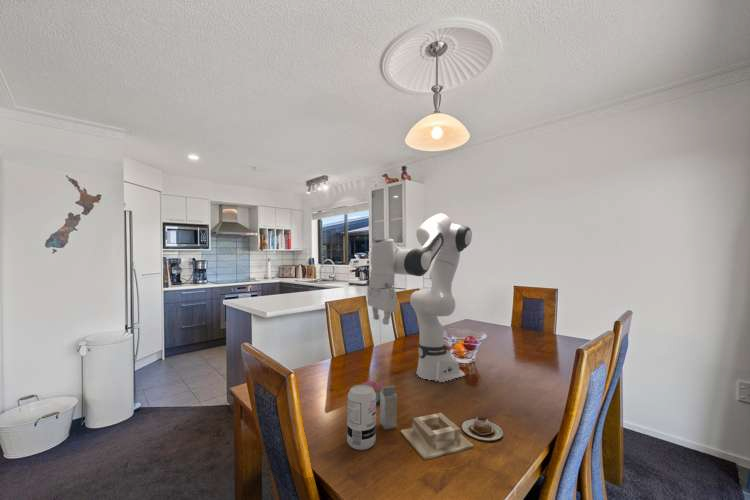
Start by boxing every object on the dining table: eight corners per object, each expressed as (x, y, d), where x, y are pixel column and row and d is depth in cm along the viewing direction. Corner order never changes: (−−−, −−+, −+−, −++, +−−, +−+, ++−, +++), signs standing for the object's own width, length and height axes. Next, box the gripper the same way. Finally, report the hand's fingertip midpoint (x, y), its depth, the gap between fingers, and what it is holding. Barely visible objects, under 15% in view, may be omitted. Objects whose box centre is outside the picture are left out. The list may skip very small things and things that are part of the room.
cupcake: (385, 397, 116) (386, 366, 117) (379, 407, 108) (379, 373, 109) (365, 394, 119) (365, 363, 120) (356, 403, 111) (357, 370, 112)
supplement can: (347, 435, 91) (347, 384, 92) (374, 434, 92) (374, 383, 92) (346, 451, 83) (347, 395, 83) (376, 450, 83) (377, 395, 84)
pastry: (511, 440, 90) (511, 424, 90) (476, 447, 86) (476, 430, 86) (486, 420, 101) (486, 406, 101) (454, 425, 98) (454, 410, 98)
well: (445, 422, 98) (445, 408, 99) (473, 447, 85) (473, 430, 85) (400, 432, 93) (400, 416, 93) (423, 460, 80) (423, 442, 80)
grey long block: (391, 421, 99) (391, 383, 100) (396, 427, 95) (396, 388, 96) (380, 423, 98) (380, 385, 98) (384, 429, 94) (385, 390, 95)
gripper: (402, 284, 100) (401, 327, 100) (380, 281, 120) (378, 317, 119) (384, 284, 98) (383, 327, 97) (365, 281, 117) (363, 317, 117)
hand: (380, 321), depth 108 cm, fingers open, 8 cm apart
